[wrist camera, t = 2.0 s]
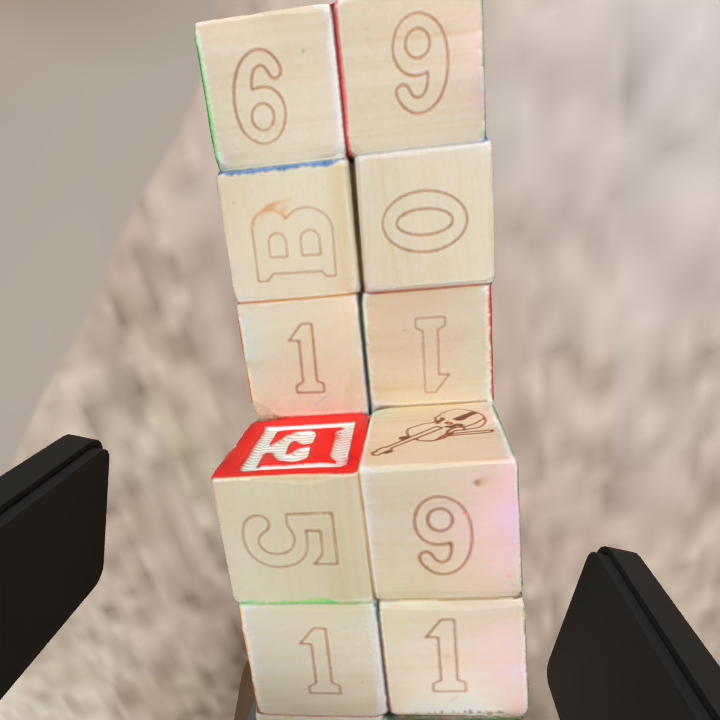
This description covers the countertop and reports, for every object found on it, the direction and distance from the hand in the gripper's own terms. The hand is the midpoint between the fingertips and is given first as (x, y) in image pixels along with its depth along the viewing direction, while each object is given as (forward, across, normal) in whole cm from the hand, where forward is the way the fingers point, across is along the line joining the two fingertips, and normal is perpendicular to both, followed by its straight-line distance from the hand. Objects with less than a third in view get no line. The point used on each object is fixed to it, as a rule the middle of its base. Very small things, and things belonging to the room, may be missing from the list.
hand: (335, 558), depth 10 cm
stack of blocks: (+13, -1, 0) cm, 13 cm away
